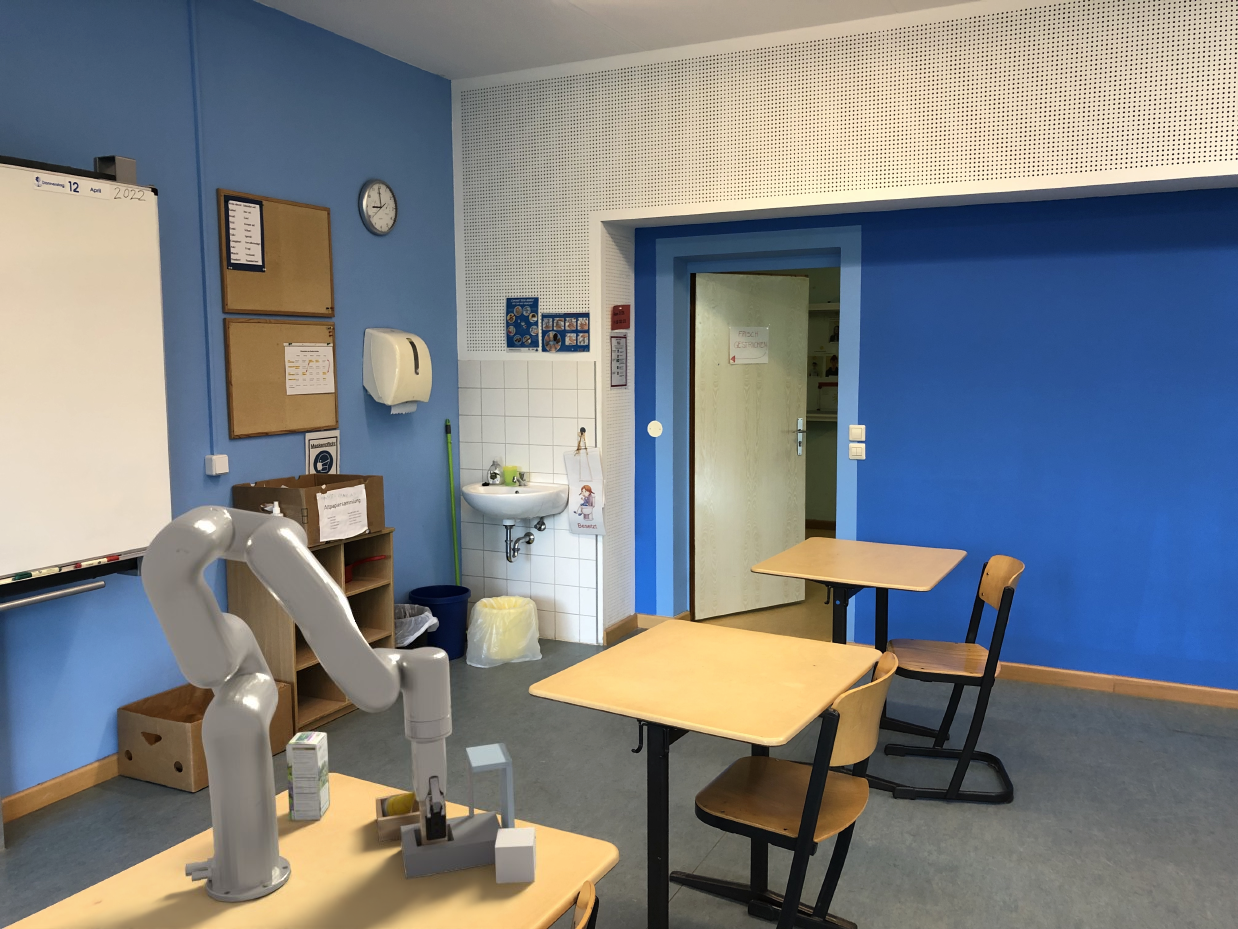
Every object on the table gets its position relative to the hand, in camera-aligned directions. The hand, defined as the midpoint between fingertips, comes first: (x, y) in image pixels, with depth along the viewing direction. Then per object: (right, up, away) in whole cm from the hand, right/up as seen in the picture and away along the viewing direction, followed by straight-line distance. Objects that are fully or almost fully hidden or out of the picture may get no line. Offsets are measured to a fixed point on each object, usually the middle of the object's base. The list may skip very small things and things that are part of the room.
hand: (433, 824), depth 155 cm
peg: (0, -6, +1) cm, 6 cm away
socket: (+3, -6, +1) cm, 7 cm away
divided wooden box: (-7, -5, +12) cm, 15 cm away
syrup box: (-26, -5, +18) cm, 32 cm away
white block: (+14, -6, -4) cm, 16 cm away
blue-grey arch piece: (+9, -5, +4) cm, 11 cm away
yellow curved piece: (-8, -4, +12) cm, 15 cm away
